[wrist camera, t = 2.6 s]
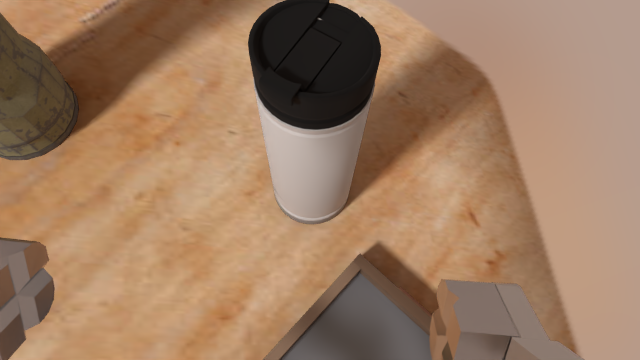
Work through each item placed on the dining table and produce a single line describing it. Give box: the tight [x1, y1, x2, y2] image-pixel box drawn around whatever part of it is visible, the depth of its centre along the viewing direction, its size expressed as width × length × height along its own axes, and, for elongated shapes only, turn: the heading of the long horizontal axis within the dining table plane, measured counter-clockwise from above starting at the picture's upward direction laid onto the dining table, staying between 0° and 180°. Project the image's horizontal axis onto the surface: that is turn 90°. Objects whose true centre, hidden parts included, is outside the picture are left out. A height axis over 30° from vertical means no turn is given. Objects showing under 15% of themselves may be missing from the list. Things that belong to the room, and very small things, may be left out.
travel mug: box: [248, 0, 381, 224], centre depth 31 cm, size 6×7×20 cm
